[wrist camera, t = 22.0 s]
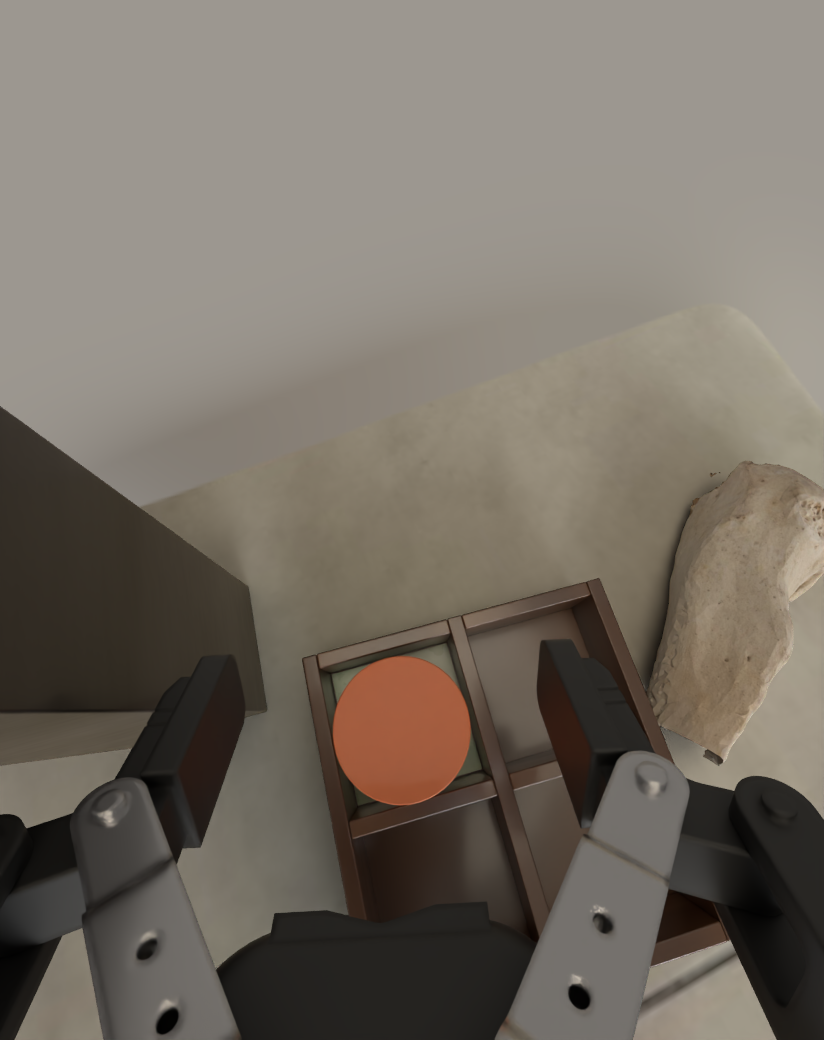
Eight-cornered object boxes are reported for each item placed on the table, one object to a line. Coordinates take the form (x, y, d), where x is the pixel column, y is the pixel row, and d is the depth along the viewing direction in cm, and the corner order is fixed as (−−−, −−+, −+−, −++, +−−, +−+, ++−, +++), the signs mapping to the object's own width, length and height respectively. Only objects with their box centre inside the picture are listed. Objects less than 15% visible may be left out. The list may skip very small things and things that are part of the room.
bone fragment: (704, 468, 27) (760, 423, 23) (820, 535, 26) (902, 501, 21) (577, 683, 23) (614, 678, 19) (704, 774, 22) (776, 791, 18)
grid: (382, 1000, 19) (374, 1061, 16) (317, 665, 24) (301, 657, 20) (691, 899, 20) (745, 936, 17) (574, 595, 25) (599, 577, 21)
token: (372, 783, 21) (348, 824, 14) (352, 687, 23) (320, 675, 15) (464, 757, 22) (488, 782, 14) (438, 663, 23) (448, 640, 15)
